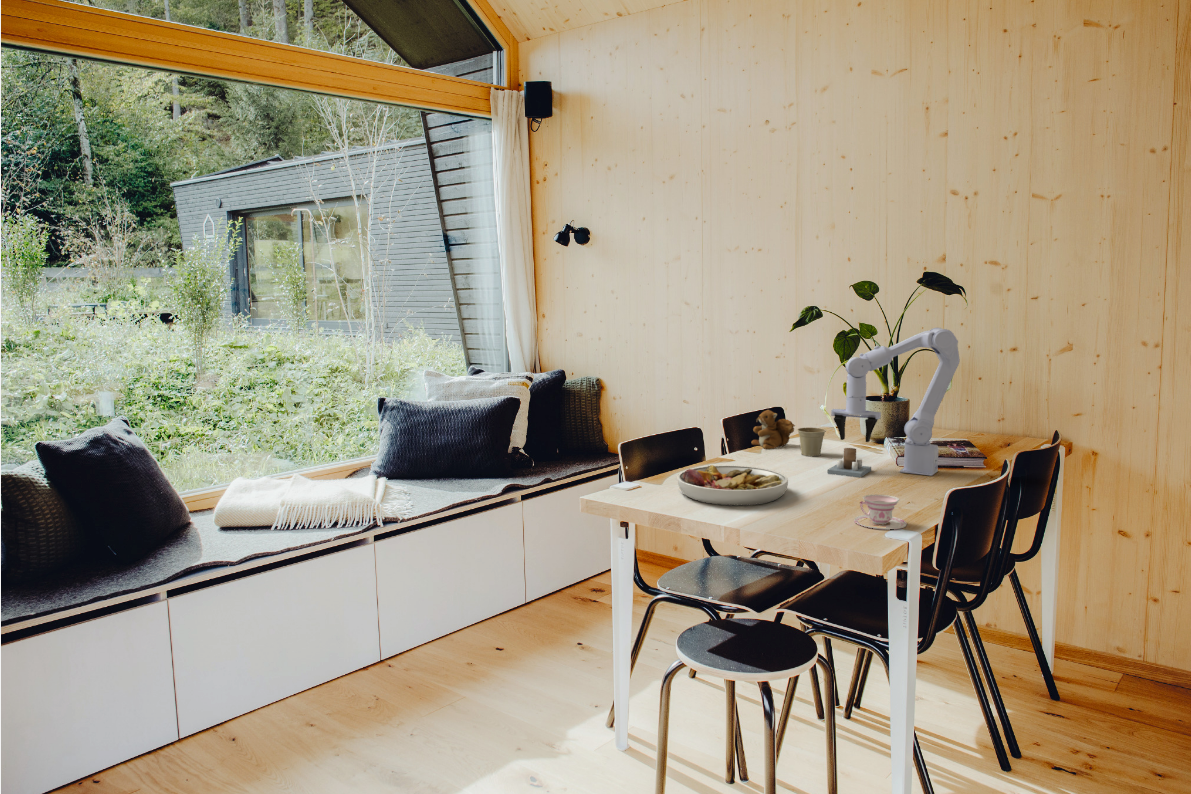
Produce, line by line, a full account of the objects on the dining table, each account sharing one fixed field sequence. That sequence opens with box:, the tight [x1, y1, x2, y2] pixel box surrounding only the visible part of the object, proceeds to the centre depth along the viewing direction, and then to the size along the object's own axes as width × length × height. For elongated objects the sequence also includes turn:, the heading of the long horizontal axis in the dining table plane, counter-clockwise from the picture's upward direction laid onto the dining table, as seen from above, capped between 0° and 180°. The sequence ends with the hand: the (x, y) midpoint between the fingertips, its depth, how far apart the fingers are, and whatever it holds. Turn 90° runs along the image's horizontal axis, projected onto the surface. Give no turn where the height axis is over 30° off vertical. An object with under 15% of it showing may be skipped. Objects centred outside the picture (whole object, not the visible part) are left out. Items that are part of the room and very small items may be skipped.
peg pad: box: [827, 457, 872, 478], centre depth 252 cm, size 10×11×4 cm
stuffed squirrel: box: [751, 409, 796, 450], centre depth 293 cm, size 10×14×13 cm
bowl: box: [676, 464, 789, 506], centre depth 227 cm, size 30×30×8 cm
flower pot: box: [796, 426, 827, 457], centre depth 277 cm, size 9×9×9 cm
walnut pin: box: [843, 447, 857, 470], centre depth 251 cm, size 4×4×6 cm
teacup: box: [853, 494, 908, 531], centre depth 197 cm, size 12×12×6 cm
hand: (855, 440), depth 253 cm, fingers open, 7 cm apart
